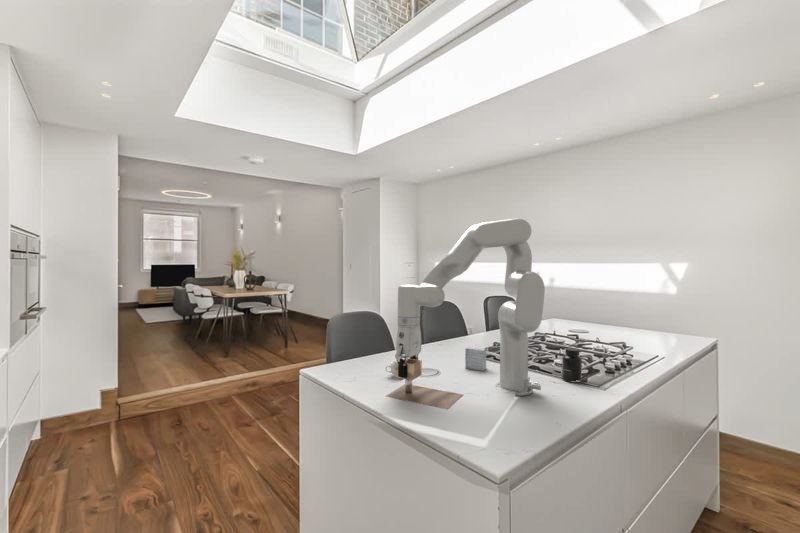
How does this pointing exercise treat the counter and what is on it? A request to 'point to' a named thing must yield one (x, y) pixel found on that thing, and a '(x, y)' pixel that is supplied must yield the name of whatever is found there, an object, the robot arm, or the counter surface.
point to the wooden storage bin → (410, 368)
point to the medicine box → (475, 358)
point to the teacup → (391, 367)
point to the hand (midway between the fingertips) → (408, 373)
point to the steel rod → (408, 386)
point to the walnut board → (427, 396)
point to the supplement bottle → (571, 365)
